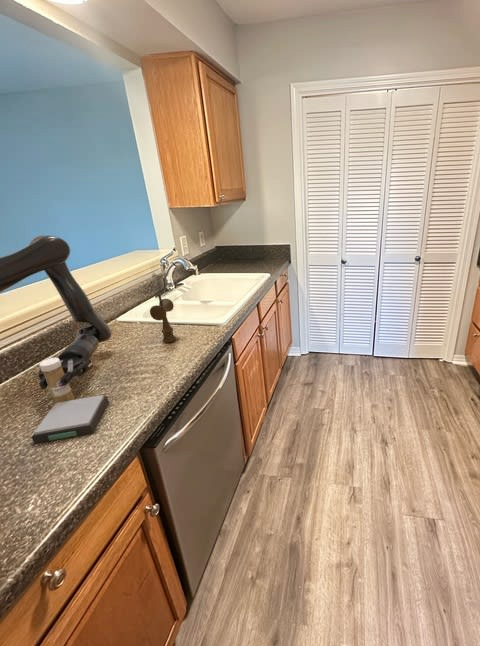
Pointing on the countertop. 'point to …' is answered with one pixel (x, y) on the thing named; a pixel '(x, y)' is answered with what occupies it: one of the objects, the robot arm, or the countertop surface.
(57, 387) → the sprinkles bottle
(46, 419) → the kitchen scale
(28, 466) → the countertop surface
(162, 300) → the kendama
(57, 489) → the countertop surface
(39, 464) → the countertop surface
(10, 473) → the countertop surface
